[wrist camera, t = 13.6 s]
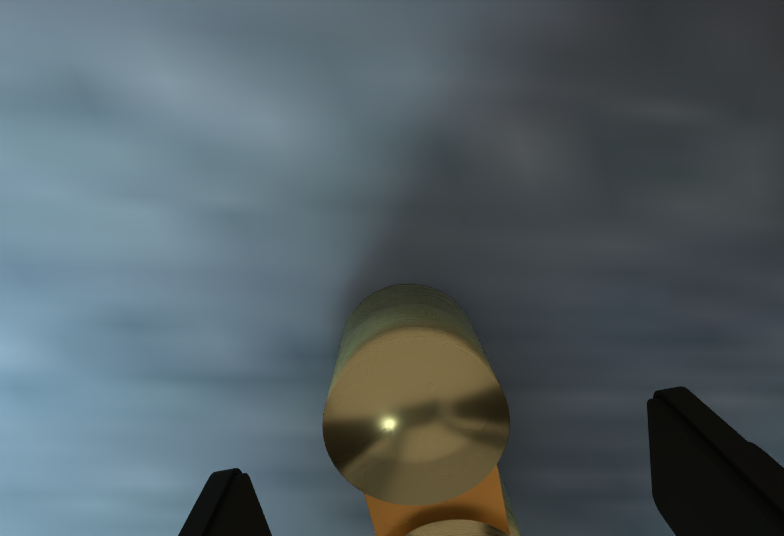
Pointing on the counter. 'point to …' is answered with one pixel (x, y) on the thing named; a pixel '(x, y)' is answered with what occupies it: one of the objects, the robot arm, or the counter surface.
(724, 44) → the counter surface
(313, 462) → the counter surface
